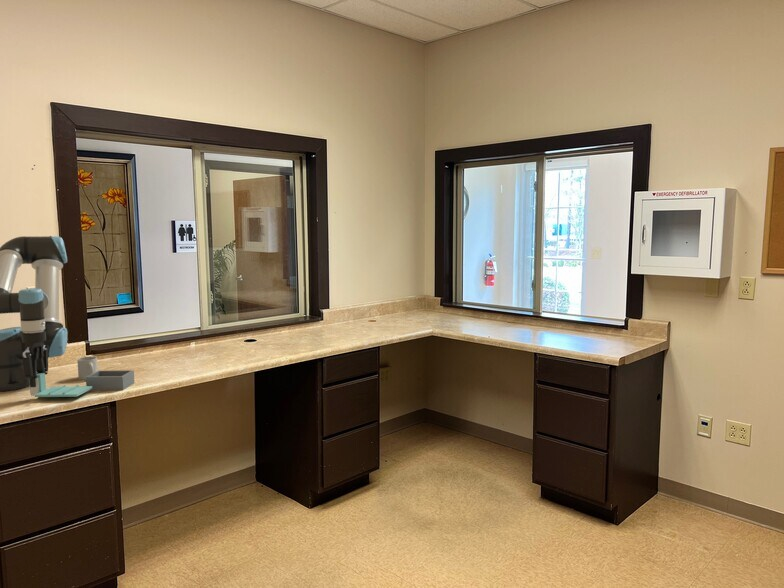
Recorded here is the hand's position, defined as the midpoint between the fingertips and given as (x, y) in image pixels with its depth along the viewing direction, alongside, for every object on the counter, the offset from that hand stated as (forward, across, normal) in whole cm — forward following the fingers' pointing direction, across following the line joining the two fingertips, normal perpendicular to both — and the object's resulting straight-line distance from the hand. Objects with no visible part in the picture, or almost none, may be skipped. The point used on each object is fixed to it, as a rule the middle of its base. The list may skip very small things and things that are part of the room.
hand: (38, 393), depth 208 cm
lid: (0, 0, -8) cm, 8 cm away
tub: (+2, +13, -20) cm, 24 cm away
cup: (+2, +26, -5) cm, 27 cm away
